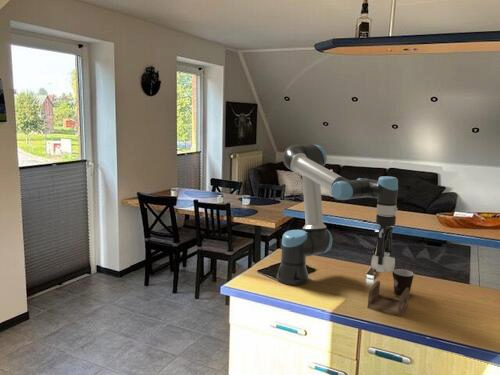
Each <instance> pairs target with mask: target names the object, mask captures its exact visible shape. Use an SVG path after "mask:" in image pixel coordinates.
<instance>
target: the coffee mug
mask: <svg viewBox="0 0 500 375" xmlns="http://www.w3.org/2000/svg"><path fill="white" fill-rule="evenodd" d="M391 273H392V277H393V293H394V294H395V296H398V297H400V296H401V294H402V293H403V292H404V290H405V289H406V287H407V288H409V294H410V293H411V289H412V284H413V279H414V274H415V273H414V272H413V271H411V270H408V269H403V268H400V269H399V268H398V269H394V271H393V272H391Z"/></svg>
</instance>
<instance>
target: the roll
mask: <svg viewBox="0 0 500 375" xmlns="http://www.w3.org/2000/svg"><path fill="white" fill-rule="evenodd" d="M384 257H385V263H384V272H387V273H393V271H394V270H395V267H396V266H395V265H396V259H395V257H391V256H389V257H386V256H384ZM377 259H378V256H375V254H373V255H372V256H371V263H370V266H371V267H370V268H371V269H372V270H376V271H377Z"/></svg>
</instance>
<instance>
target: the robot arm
mask: <svg viewBox="0 0 500 375" xmlns="http://www.w3.org/2000/svg"><path fill="white" fill-rule="evenodd" d="M327 157H328V156H327V153H326V150H325V149H324V148H323V147H322V146H320V145H319V144H313V143H312V144H293V145H290V146H288V147H287V148H286V149H285V150H284V152H283V155H282V161H283V165H284V166H285V167H286V168H287V169H289V170H290V171H292V172H293V173H295V174H296V173H299V175H301V179H302V192H303V206H304V218H305V222H304V223H305V224H304V226H302V229H290V230H287V231H285V232H284V233H283V234H282V238H281V239H282V240H281V256H280V257H281V259H280V260H281V262H280V265H279V266H278V270H277V273H276V280H277V279H278V280H277V281H278V282H279V281H280V283H281V284H284V285H290V286H300V285H301V286H302V285H305V284H307V283H308V282H309V273H308V270H307V266H306V263H307V262H306V261H307V260H306V259H307V257H311V256H316V255H322V254H325V253H327V252H329V251H330V249H331V248H332V245H333V235H332V233H331V232H330V230H328V228H327V225H326V224H325V223H324V218H323V204H322V189H321V187H323V188H325V189H327V190H328V191H329V192H331V195H332V196H333V198H334V199H335V200H338V201H339V200H340V201H347V200H352V199H353V200H354V199H362V198H371V199H377V200H376V202H377V203H376V218H375V223H376V224H377V225H379V226H380V228H379V229H378V231H377V233H376V235H377V236H376V251H375V254H374V255H375V256H378V259H377V270H376V272H377V273H382V274H384V272H385V271H384V263H385V257H384V256H386V257H390V254H391V253H392V252H393V250H392V243H393V241H392V240H393V226H395V225H396V222H397V221H396V220H397V217H396V215H397V211H398V207H397V203H398V201H397V200H398V191H399V179H398V178H397V177H395V176H386V175H385V176H379V177H378V180H377V179H376V180H375V179H370V178H365V177H363V178H362V177H361V178H360V177H358V178H357V179H354V180H352V179H351V180H350V179H347V178H345V177H343V176H341V175H339V174H337V173H336V172H334V171H332V170H330V169H328V168H326V167H325V165H326V163H327Z"/></svg>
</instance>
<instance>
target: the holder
mask: <svg viewBox="0 0 500 375" xmlns="http://www.w3.org/2000/svg"><path fill="white" fill-rule="evenodd" d="M380 286H381V281H380V280H376V282H374V284H372V286H371V287H370V288H369V289H368V297H367V299H368V300H367V309H371V310H375V311H378V312H382V313H386V314H389V315H393V316H396V317H399V318H400V317H402V316H403V314H404V312H405V311H406V309H407V308H408V306H409V296H410V293H409V288H407V287H406V289H405V290H404V292H403V293H402V294H401V296H399V298H396V297H391V296H387V295H384V294H380Z"/></svg>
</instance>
